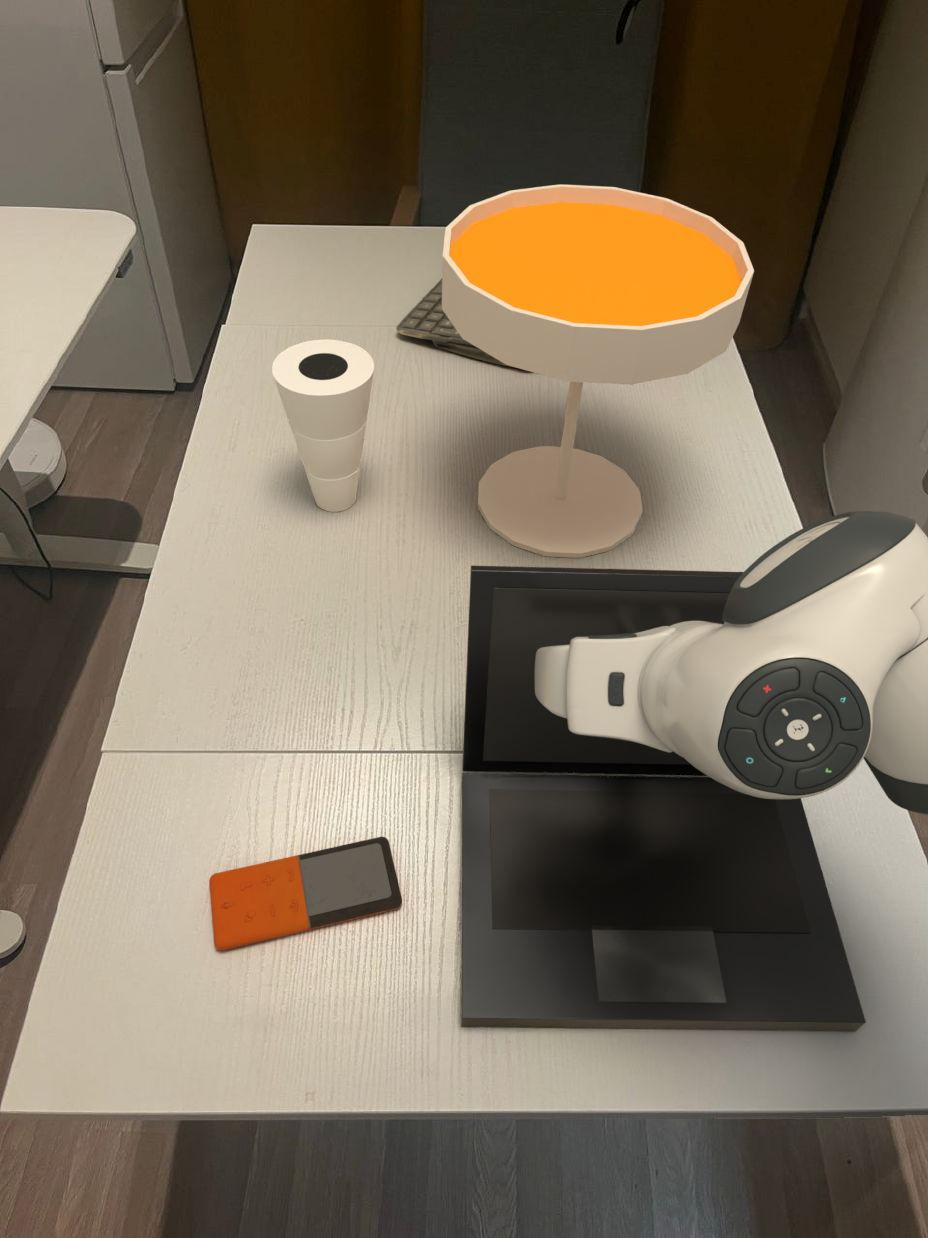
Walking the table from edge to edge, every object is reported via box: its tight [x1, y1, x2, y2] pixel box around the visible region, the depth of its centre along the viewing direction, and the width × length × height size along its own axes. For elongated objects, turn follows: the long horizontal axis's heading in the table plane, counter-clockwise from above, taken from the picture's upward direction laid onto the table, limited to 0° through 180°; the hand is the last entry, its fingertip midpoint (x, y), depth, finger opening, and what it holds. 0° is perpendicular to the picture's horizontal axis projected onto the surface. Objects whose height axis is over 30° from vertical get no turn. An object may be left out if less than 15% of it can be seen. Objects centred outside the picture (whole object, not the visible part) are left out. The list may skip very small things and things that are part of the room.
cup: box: [271, 339, 375, 513], centre depth 100 cm, size 11×11×18 cm
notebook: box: [460, 772, 866, 1032], centre depth 74 cm, size 21×30×2 cm
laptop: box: [396, 278, 517, 369], centre depth 134 cm, size 26×32×10 cm
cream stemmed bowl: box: [441, 183, 755, 559], centre depth 96 cm, size 30×30×31 cm
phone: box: [208, 836, 403, 951], centre depth 73 cm, size 6×1×15 cm
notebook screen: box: [461, 565, 744, 777], centre depth 74 cm, size 21×30×1 cm
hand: (650, 667), depth 72 cm, fingers closed, pressing on notebook screen
